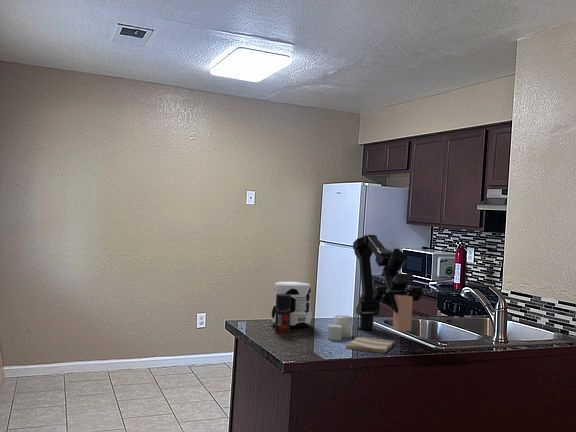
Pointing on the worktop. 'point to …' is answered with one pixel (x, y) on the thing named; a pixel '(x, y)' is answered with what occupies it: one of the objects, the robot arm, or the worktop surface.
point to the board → (370, 344)
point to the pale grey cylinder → (344, 324)
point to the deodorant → (282, 313)
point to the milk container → (295, 302)
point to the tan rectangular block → (403, 313)
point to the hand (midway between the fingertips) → (404, 312)
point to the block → (334, 332)
